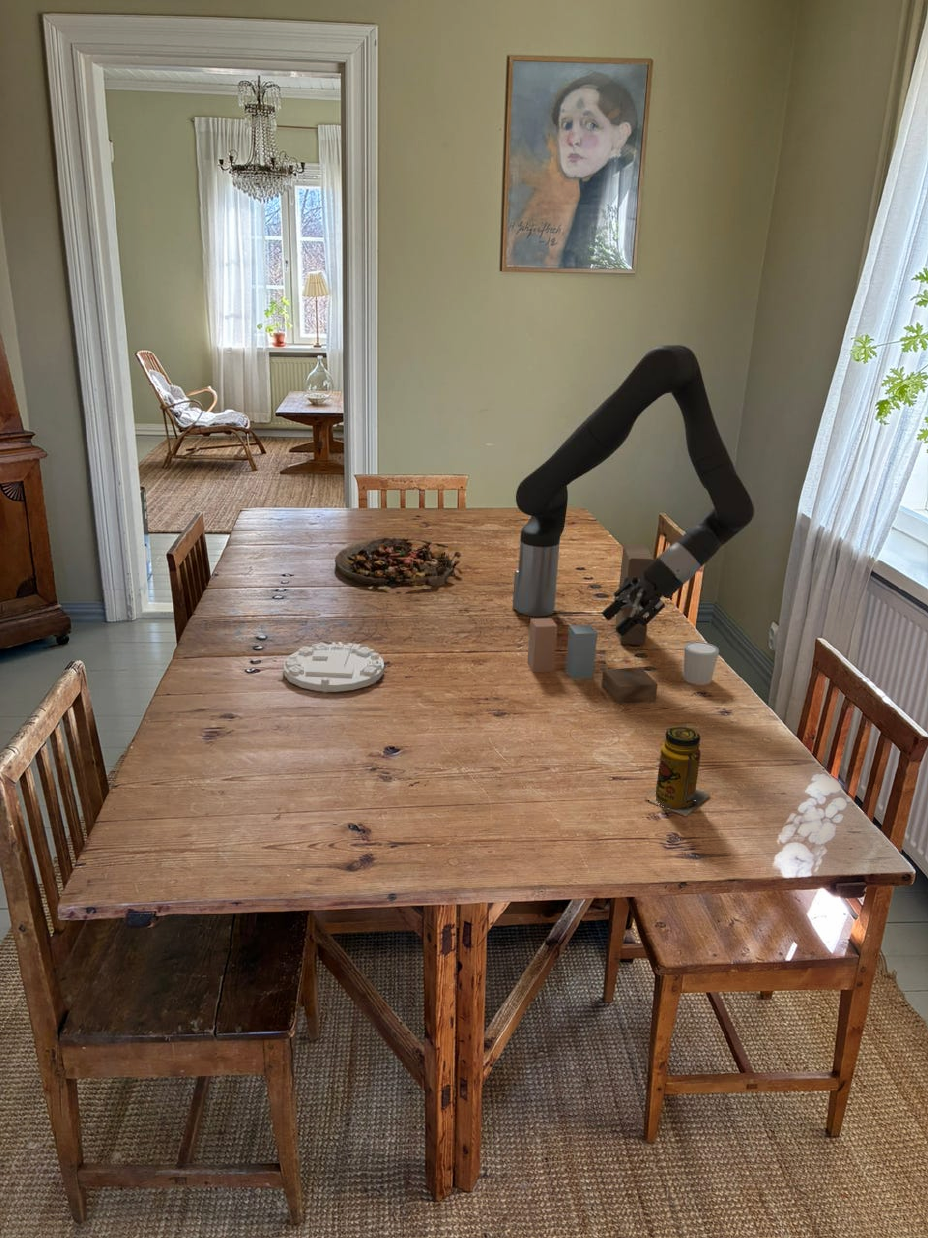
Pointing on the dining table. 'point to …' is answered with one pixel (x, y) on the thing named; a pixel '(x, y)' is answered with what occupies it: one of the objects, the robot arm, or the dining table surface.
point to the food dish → (395, 563)
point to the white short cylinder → (699, 662)
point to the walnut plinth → (629, 685)
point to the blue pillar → (581, 651)
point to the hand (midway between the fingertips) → (611, 624)
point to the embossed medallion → (334, 667)
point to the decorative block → (632, 565)
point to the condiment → (679, 772)
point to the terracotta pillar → (542, 644)
